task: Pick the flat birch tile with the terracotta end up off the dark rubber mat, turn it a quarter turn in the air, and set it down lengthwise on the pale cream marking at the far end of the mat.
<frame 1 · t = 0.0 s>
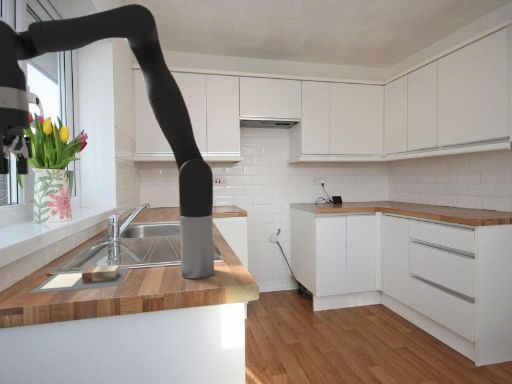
hand: (13, 174, 74), 29 cm above the worktop, tool pointing down, fingers open, 8 cm apart
rubber mat: (85, 280, 80), on the worktop
birch tile: (101, 277, 81), resting on rubber mat
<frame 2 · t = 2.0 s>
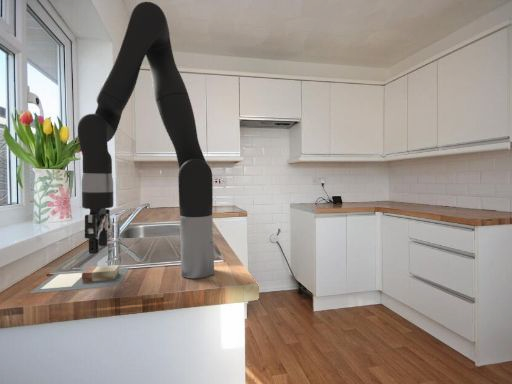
hand: (98, 249, 80), 8 cm above the worktop, tool pointing down, fingers open, 8 cm apart
nothing on the worktop moved.
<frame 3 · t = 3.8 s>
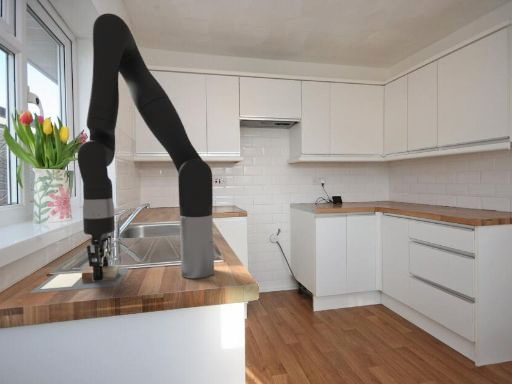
hand: (101, 276, 81), 1 cm above the worktop, tool pointing down, fingers closed on birch tile, 5 cm apart
birch tile: (101, 277, 81), point 1 cm above the worktop, touching gripper, rubber mat
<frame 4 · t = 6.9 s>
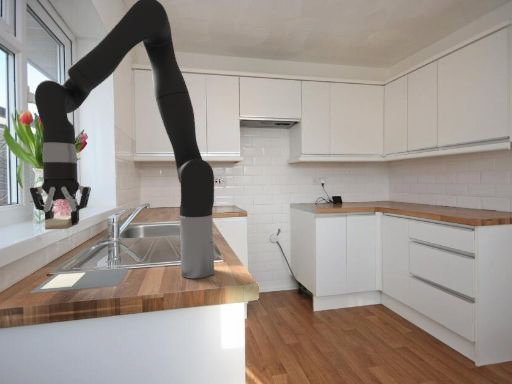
hand: (62, 225, 78), 16 cm above the worktop, tool pointing down, fingers closed on birch tile, 5 cm apart
birch tile: (62, 226, 78), point 15 cm above the worktop, touching gripper
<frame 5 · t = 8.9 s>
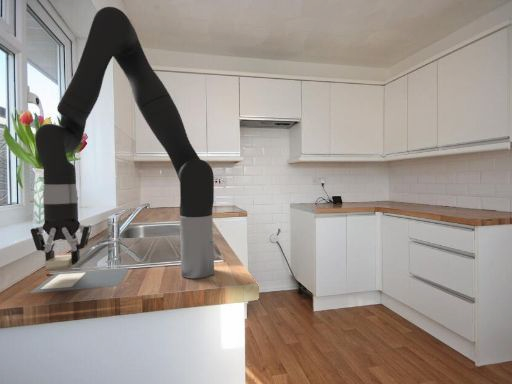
hand: (63, 264, 78), 5 cm above the worktop, tool pointing down, fingers closed on birch tile, 5 cm apart
birch tile: (63, 265, 79), point 5 cm above the worktop, touching gripper
when the fingers open (2 cm above the worktop, at t = 10.4 s): birch tile drops 1 cm, resting on rubber mat.
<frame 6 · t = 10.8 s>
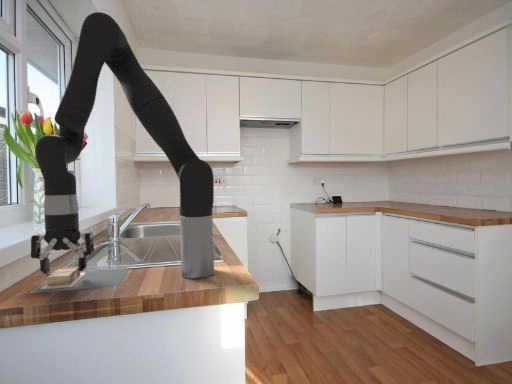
hand: (64, 271, 79), 3 cm above the worktop, tool pointing down, fingers open, 8 cm apart
birch tile: (64, 280, 79), point 1 cm above the worktop, touching rubber mat
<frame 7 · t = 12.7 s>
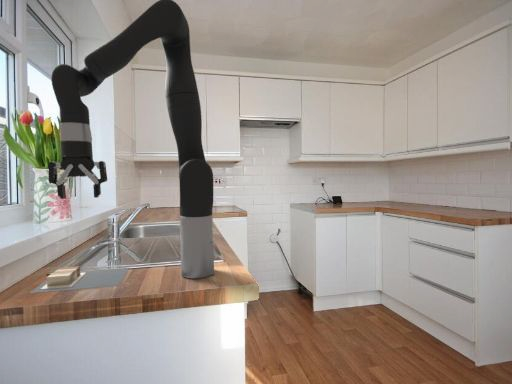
hand: (80, 198, 84), 22 cm above the worktop, tool pointing down, fingers open, 8 cm apart
nothing on the worktop moved.
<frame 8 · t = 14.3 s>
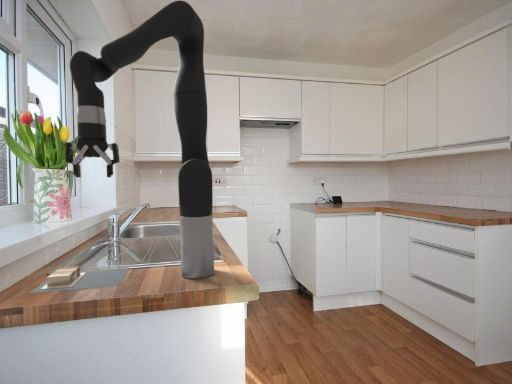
hand: (93, 177, 89), 28 cm above the worktop, tool pointing down, fingers open, 8 cm apart
nothing on the worktop moved.
at the end: birch tile 0.1 cm from the target spot on the rubber mat, point 0.6 cm above the rubber mat's base; birch tile tilted 0°; the gripper is holding nothing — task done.
